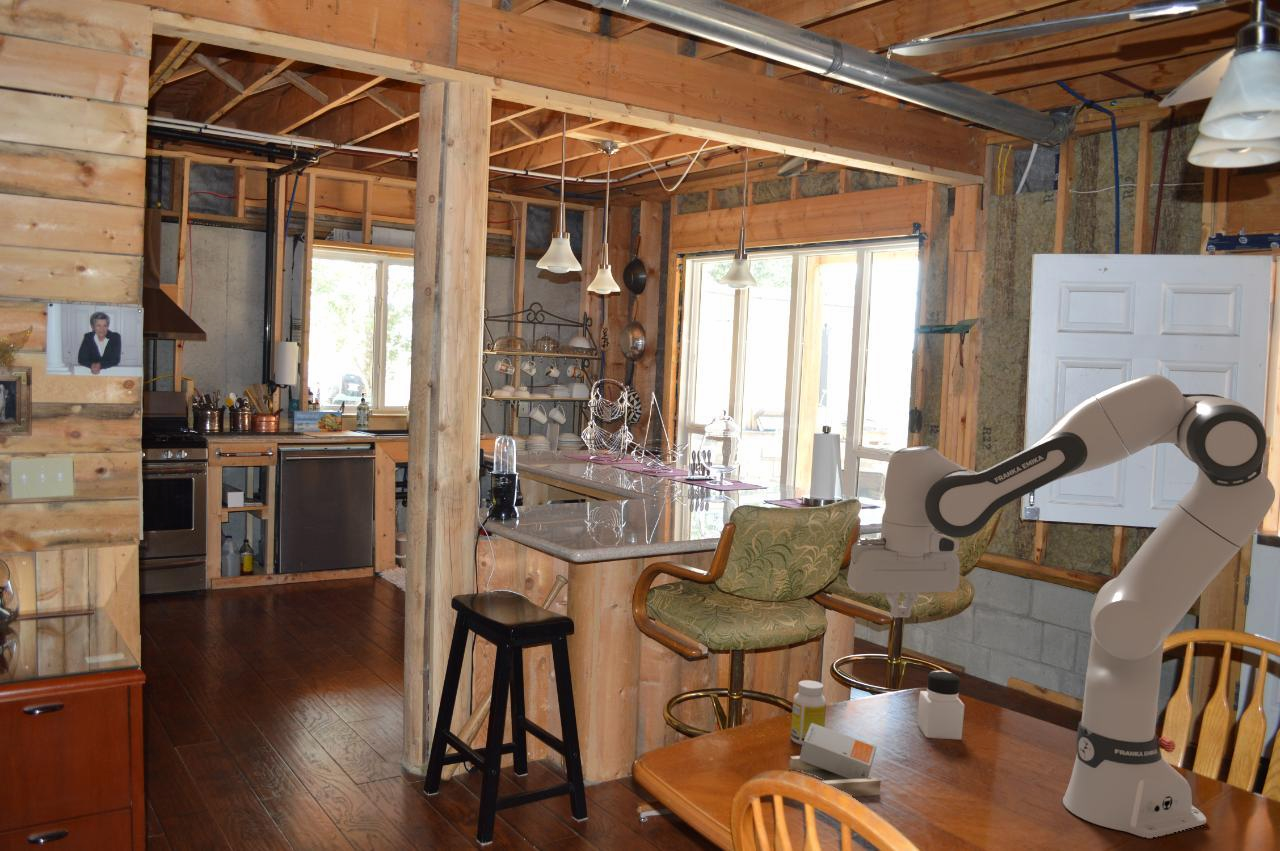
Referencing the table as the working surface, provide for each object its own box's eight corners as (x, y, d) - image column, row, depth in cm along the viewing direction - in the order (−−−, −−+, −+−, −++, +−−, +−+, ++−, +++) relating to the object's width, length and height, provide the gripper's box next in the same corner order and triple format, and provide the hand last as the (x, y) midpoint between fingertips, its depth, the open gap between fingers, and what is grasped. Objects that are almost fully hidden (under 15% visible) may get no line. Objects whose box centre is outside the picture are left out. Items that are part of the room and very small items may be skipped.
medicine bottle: (962, 740, 200) (967, 680, 199) (925, 738, 200) (931, 678, 199) (951, 726, 207) (957, 668, 206) (916, 724, 207) (921, 666, 206)
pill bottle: (828, 740, 195) (832, 683, 195) (815, 750, 190) (820, 692, 189) (798, 731, 199) (802, 676, 198) (785, 741, 194) (789, 684, 193)
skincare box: (871, 766, 174) (803, 741, 177) (865, 785, 175) (798, 760, 179) (877, 745, 179) (811, 721, 183) (871, 764, 181) (806, 740, 184)
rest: (848, 766, 183) (849, 753, 183) (879, 794, 172) (880, 780, 172) (789, 770, 180) (790, 756, 180) (816, 798, 169) (817, 784, 169)
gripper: (861, 541, 172) (855, 622, 173) (967, 542, 178) (960, 620, 179) (844, 534, 178) (837, 612, 179) (947, 535, 184) (940, 610, 185)
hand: (900, 616), depth 179 cm, fingers closed
